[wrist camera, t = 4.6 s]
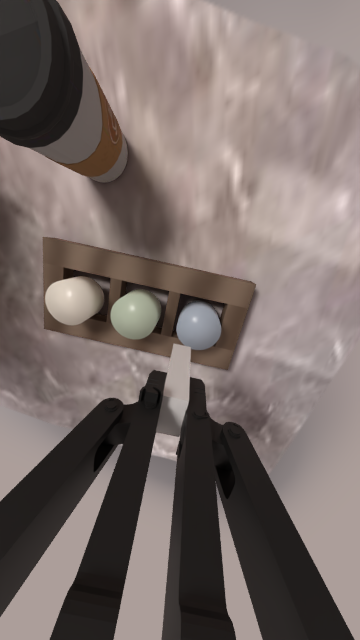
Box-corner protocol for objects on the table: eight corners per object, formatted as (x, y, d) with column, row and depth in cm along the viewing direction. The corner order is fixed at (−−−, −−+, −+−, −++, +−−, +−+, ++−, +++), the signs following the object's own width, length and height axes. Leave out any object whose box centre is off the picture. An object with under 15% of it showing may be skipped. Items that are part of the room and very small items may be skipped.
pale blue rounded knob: (175, 332, 30) (172, 344, 27) (183, 296, 29) (181, 304, 25) (212, 340, 30) (214, 354, 27) (222, 305, 28) (226, 314, 25)
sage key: (119, 323, 29) (108, 334, 26) (124, 285, 28) (112, 290, 24) (157, 331, 29) (151, 343, 26) (164, 294, 28) (159, 301, 24)
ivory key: (64, 310, 30) (45, 319, 26) (65, 272, 28) (44, 275, 24) (102, 319, 29) (88, 329, 26) (105, 280, 28) (91, 286, 24)
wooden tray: (55, 323, 33) (44, 328, 31) (55, 238, 29) (42, 237, 27) (225, 361, 33) (227, 369, 31) (251, 281, 29) (256, 284, 27)
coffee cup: (144, 184, 26) (83, 108, 12) (83, 199, 27) (-39, 147, 13) (126, 100, 24) (21, -122, 9) (60, 121, 25) (-124, -49, 10)
